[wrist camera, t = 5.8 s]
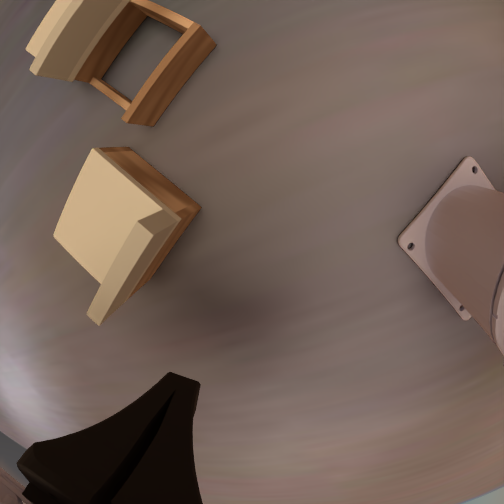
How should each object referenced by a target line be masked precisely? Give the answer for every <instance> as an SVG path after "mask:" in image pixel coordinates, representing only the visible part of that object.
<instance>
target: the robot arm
mask: <svg viewBox="0 0 504 504" xmlns="http://www.w3.org/2000/svg"><path fill="white" fill-rule="evenodd" d="M473 166H474V168H475V172H474V173H473V172H472V167H473ZM409 243H413V246H412V248H410V249H408V248H407V247H408V244H409ZM398 244H399V245H400V247H401V248H402V249H403V250H404V251H405V252H406V253H407V254H408V255H409V256H410V257H411V258H412V260H413V261H414V262H415V263H416V264H417V265H418V266H419V267H420V268H421V270H422V271H423V272H424V273H425V274H426V275H427V276H428V278H429V279H430V280H431V281H432V282H433V283H434V285H435V286H436V287H437V288H438V289H439V291H440V292H441V293H442V294H443V295H444V297H445V298H446V299H447V300H448V301H449V303H450V304H451V305H452V306H453V308H454V309H455V310H456V311H457V313H458V314H459V315H460V316H461V318H462V319H463V320H468V319H470V318H471V317H473V318H474V319H475V320H476V321H477V323H478V324H479V325H480V326H481V327H482V328H483V330H484V331H485V332H486V333H487V334H488V336H489V337H490V338H491V339H492V341H493V342H494V343H495V344H496V345H497V347H498V348H499V350H500V351H501V352H502V354H503V355H504V193H502V192H499V191H496V190H495V189H494V187H493V186H492V184H491V183H490V181H489V180H488V178H487V177H486V175H485V174H484V172H483V171H482V169H481V168H480V167H479V165H478V164H477V162H476V161H475V160H474V159H473V158H472V157H465V158H464V159H463V160H462V162H461V163H460V164H459V165H458V167H457V168H456V169H455V171H454V172H453V173H452V174H451V176H450V177H449V178H448V179H447V181H446V182H445V183H444V184H443V186H442V187H441V188H440V189H439V190H438V192H437V193H436V194H435V195H434V196H433V198H432V199H431V200H430V201H429V202H428V204H427V205H426V206H425V207H424V208H423V209H422V211H421V212H420V213H419V214H418V215H417V216H416V217H415V219H414V220H413V221H412V222H411V223H410V224H409V225H408V226H407V228H406V229H405V230H404V231H403V232H402V233H401V234H400V236H399V237H398ZM461 305H463V306H462V308H460V306H461ZM503 366H504V364H503ZM199 390H200V383H199V382H198V381H195V380H192V379H189V378H186V377H183V376H180V375H178V374H175V373H172V372H169V373H167V374H166V375H165V376H164V377H163V378H162V379H161V380H160V381H159V382H158V383H157V384H155V385H154V386H153V387H152V388H151V389H150V390H148V391H147V392H146V393H145V394H143V395H142V396H141V397H139V398H138V399H137V400H136V401H134V402H133V403H131V404H130V405H128V406H127V407H125V408H124V409H122V410H121V411H119V412H118V413H116V414H114V415H113V416H111V417H109V418H107V419H105V420H104V421H102V422H100V423H97V424H95V425H93V426H91V427H89V428H86V429H84V430H81V431H79V432H76V433H73V434H69V435H66V436H63V437H60V438H56V439H51V440H46V441H41V442H36V443H34V444H33V445H32V446H31V447H29V448H28V449H27V450H26V451H25V453H24V454H23V455H22V457H21V458H20V459H19V460H18V462H17V467H18V468H19V470H20V471H21V472H22V474H23V475H24V476H25V477H26V478H27V480H28V481H29V482H30V483H29V484H28V485H27V487H26V488H25V487H24V486H23V485H21V484H20V483H19V482H18V481H16V480H15V479H14V478H12V477H11V476H10V475H9V474H8V473H7V472H5V471H4V470H3V469H2V468H1V467H0V504H23V502H24V503H26V504H203V503H202V499H201V495H200V491H199V487H198V482H197V477H196V471H195V464H194V454H193V434H192V431H193V417H194V414H195V411H196V406H197V400H198V395H199ZM22 501H23V502H22Z"/></svg>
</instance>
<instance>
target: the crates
mask: <svg viewBox="0 0 504 504" xmlns="http://www.w3.org/2000/svg"><path fill="white" fill-rule="evenodd" d="M147 16H149V17H151V18H153V19H155V20H157V21H159V22H161V23H163V24H165V25H167V26H169V27H171V28H173V29H175V30H177V31H178V32H180V33H182V34H183V35H182V36H181V37H180V39H179V40H178V41H177V42H176V43H175V45H174V46H173V47H172V48H171V50H170V51H169V52H168V53H167V55H166V56H165V57H164V58H163V60H162V61H161V62H160V63H159V65H158V66H157V67H156V69H155V70H154V71H153V73H152V74H151V75H150V77H149V78H148V80H147V81H146V82H145V84H144V85H143V87H142V88H141V90H140V91H139V92H138V94H137V95H136V97H135V98H134V100H133V101H131V100H129V99H128V98H127V97H125V96H124V95H122V94H121V93H120V92H118V91H117V90H116V89H114V88H113V87H111V86H110V85H108V84H107V83H106V82H104V81H103V80H101V79H102V77H103V75H104V74H105V72H106V71H107V69H108V68H109V66H110V65H111V63H112V62H113V60H114V59H115V58H116V56H117V55H118V53H119V52H120V51H121V49H122V48H123V46H124V45H125V44H126V42H127V41H128V40H129V38H130V37H131V36H132V35H133V33H134V32H135V31H136V29H137V28H138V27H139V26H140V24H141V23H142V22H143V21H144V20H145V18H146V17H147ZM215 46H216V43H215V42H214V41H213V40H212V39H211V37H210V36H209V35H208V34H207V33H206V31H205V30H204V29H203V28H202V27H201V26H200V25H198V24H196V23H195V22H193V21H191V20H189V19H187V18H185V17H183V16H181V15H179V14H177V13H175V12H173V11H171V10H168V9H166V8H164V7H162V6H160V5H157V4H155V3H153V2H151V1H148V0H130V1H129V2H128V3H127V5H126V6H125V7H124V8H123V9H122V11H121V12H120V13H119V14H118V16H117V17H116V18H115V20H114V21H113V22H112V23H111V25H110V26H109V27H108V29H107V30H106V31H105V33H104V34H103V36H102V37H101V38H100V40H99V41H98V43H97V44H96V46H95V47H94V49H93V50H92V51H91V53H90V55H89V56H88V58H87V59H86V61H85V62H84V64H83V65H82V67H81V69H80V70H79V72H78V74H77V75H76V77H75V79H74V80H79V81H83V82H87V83H90V84H92V85H93V86H94V87H96V88H97V89H98V90H100V91H101V92H102V93H104V94H105V95H107V96H108V97H109V98H111V99H112V100H113V101H115V102H116V103H117V104H119V105H120V106H121V107H123V108H124V109H125V110H126V112H125V114H124V115H123V117H122V118H121V119H122V120H123V121H125V122H126V123H130V124H138V125H146V126H153V127H154V125H155V124H156V122H157V121H158V119H159V118H160V116H161V115H162V114H163V112H164V111H165V109H166V108H167V107H168V105H169V104H170V102H171V101H172V100H173V98H174V97H175V96H176V94H177V93H178V92H179V90H180V89H181V88H182V86H183V85H184V84H185V83H186V81H187V80H188V79H189V78H190V76H191V75H192V74H193V73H194V71H195V70H196V69H197V68H198V66H199V65H200V64H201V63H202V62H203V60H204V59H205V58H206V57H207V56H208V55H209V53H210V52H211V51H212V50H213V49H214V48H215ZM99 149H100V150H102V151H103V152H104V153H105V154H106V155H107V156H109V157H110V158H111V159H112V160H113V161H114V162H115V163H117V164H118V165H119V166H120V167H121V168H122V169H124V170H125V171H126V172H127V173H128V174H129V175H131V176H132V177H133V178H134V179H135V180H136V181H138V182H139V183H140V184H141V185H142V186H144V187H145V188H146V189H147V190H148V191H149V192H151V193H152V194H153V195H154V196H155V197H156V198H158V199H159V200H160V201H161V202H162V203H164V204H165V205H166V206H167V207H168V208H170V209H171V210H172V211H173V212H174V213H175V214H177V215H178V216H179V217H180V218H181V220H180V222H179V223H178V225H177V226H176V227H175V229H174V230H173V232H172V233H171V235H170V236H169V237H168V239H167V240H166V242H165V243H164V245H163V246H162V248H161V249H160V251H159V252H158V254H157V255H156V256H155V258H154V259H153V261H152V262H151V264H150V265H149V267H148V268H147V270H146V272H145V273H144V275H143V276H142V278H141V279H140V281H139V282H138V284H137V285H136V287H135V289H134V290H133V292H132V293H131V295H130V296H129V298H130V297H131V296H132V295H133V294H134V293H135V292H136V291H138V290H139V289H140V288H141V287H142V286H143V285H144V284H145V283H146V282H148V281H149V280H150V279H151V277H152V276H153V274H154V273H155V272H156V270H157V269H158V267H159V266H160V264H161V263H162V261H163V260H164V259H165V257H166V256H167V254H168V253H169V251H170V250H171V249H172V247H173V246H174V244H175V243H176V242H177V240H178V239H179V237H180V236H181V235H182V233H183V232H184V231H185V229H186V228H187V226H188V225H189V224H190V222H191V221H192V220H193V218H194V217H195V216H196V214H197V213H198V212H199V210H200V209H201V208H202V207H201V206H199V205H198V204H197V203H196V202H195V201H193V200H192V199H191V198H190V197H188V196H187V195H186V194H185V193H184V192H182V191H181V190H180V189H179V188H178V187H176V186H175V185H174V184H173V183H171V182H170V181H169V180H168V179H167V178H165V177H164V176H163V175H162V174H161V173H159V172H158V171H157V170H156V169H154V168H153V167H152V166H151V165H150V164H148V163H147V162H146V161H145V160H144V159H142V158H141V157H140V156H139V155H137V154H136V153H135V152H134V151H133V150H131V149H130V148H129V147H107V148H99ZM129 298H128V299H129Z"/></svg>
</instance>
